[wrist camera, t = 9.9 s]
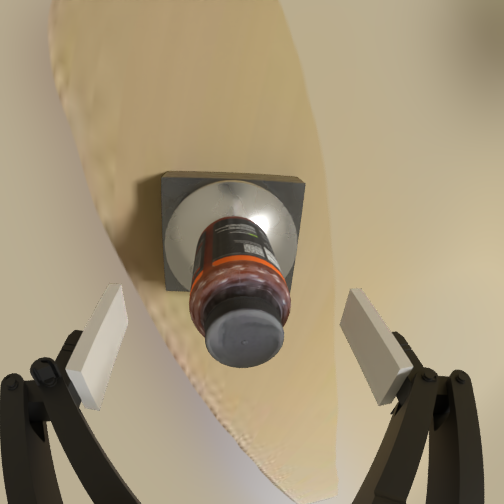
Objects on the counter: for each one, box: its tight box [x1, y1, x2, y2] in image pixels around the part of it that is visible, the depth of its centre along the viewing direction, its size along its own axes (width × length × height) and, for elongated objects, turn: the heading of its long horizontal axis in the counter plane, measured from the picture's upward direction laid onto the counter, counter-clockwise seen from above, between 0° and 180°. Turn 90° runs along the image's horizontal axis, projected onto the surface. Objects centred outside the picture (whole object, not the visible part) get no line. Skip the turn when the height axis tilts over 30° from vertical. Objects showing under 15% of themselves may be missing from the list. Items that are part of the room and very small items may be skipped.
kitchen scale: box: [161, 171, 305, 293], centre depth 27 cm, size 12×12×5 cm
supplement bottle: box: [189, 216, 291, 368], centre depth 19 cm, size 6×6×11 cm
